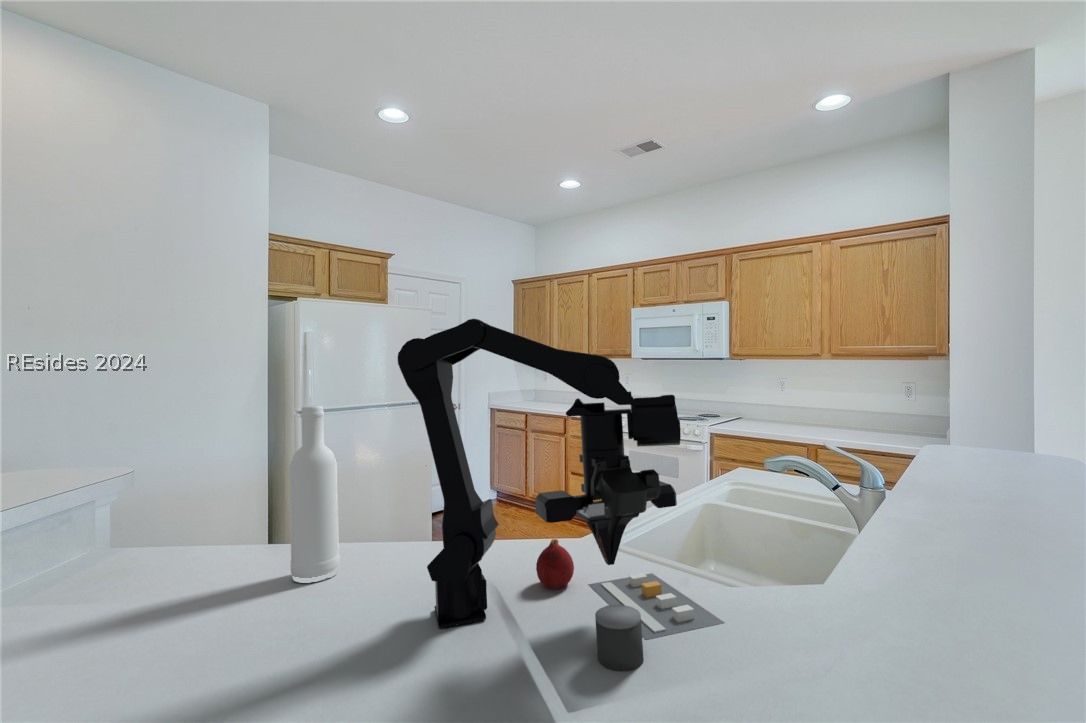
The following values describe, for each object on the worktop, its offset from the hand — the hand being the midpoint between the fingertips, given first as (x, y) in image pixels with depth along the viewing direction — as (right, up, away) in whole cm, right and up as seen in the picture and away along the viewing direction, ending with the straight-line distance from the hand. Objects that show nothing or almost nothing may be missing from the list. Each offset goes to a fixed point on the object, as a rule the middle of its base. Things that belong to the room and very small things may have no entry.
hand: (609, 564), depth 67 cm
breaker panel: (+6, -7, +2) cm, 9 cm away
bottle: (-49, -11, +21) cm, 55 cm away
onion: (-7, -8, +9) cm, 14 cm away
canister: (0, -7, -12) cm, 14 cm away
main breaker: (+7, -6, +4) cm, 10 cm away
